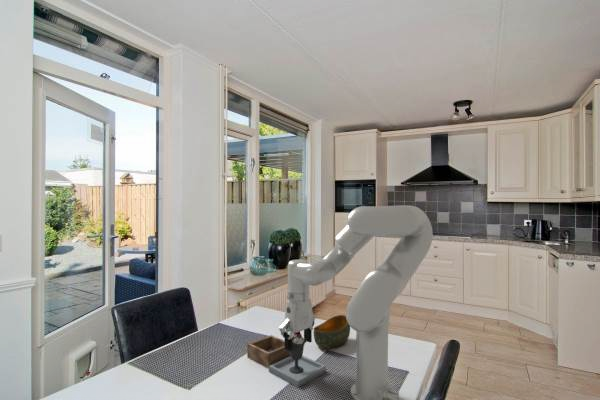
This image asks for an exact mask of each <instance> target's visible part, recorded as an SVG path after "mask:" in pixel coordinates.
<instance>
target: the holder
mask: <svg viewBox="0 0 600 400" xmlns="http://www.w3.org/2000/svg"><path fill="white" fill-rule="evenodd" d="M246 349H247V353H246V355H247V358H248V359H250V360H252V362H256V363H257V364H259V365H260V366H261V365H262V366H263V367H265V368H267V369H269V366H270V365H272V364H274V363H277V362H279V361H281V360H283V359H285V358H287V357H290V356H291V354H290V351H289V350H286V349H285V339H281V338H279V337H276V336H274V335H272V334H270V335H268V336H265V337H263V338H260V339H257V340H255V341H252V342H249V343H247V348H246ZM270 350H271V351H270Z"/></svg>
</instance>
